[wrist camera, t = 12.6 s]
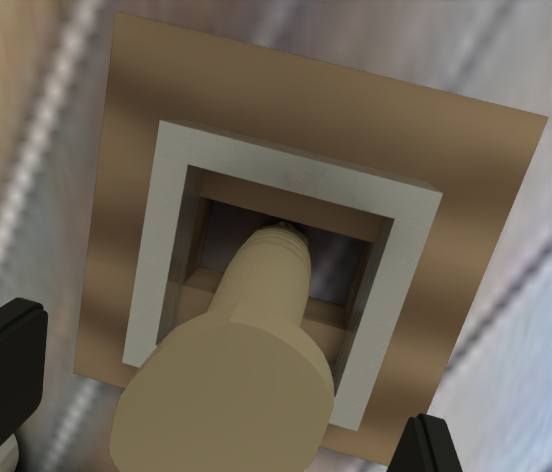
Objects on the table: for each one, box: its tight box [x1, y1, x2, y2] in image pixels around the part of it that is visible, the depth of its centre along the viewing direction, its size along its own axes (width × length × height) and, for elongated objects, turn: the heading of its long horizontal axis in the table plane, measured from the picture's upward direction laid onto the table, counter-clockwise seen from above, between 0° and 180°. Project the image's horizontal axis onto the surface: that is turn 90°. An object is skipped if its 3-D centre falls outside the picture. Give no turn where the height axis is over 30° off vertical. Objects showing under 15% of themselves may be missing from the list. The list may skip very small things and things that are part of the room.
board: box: [73, 11, 549, 467], centre depth 24 cm, size 20×20×3 cm
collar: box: [122, 119, 443, 431], centre depth 21 cm, size 12×12×3 cm
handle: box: [108, 220, 334, 472], centre depth 18 cm, size 5×6×15 cm
